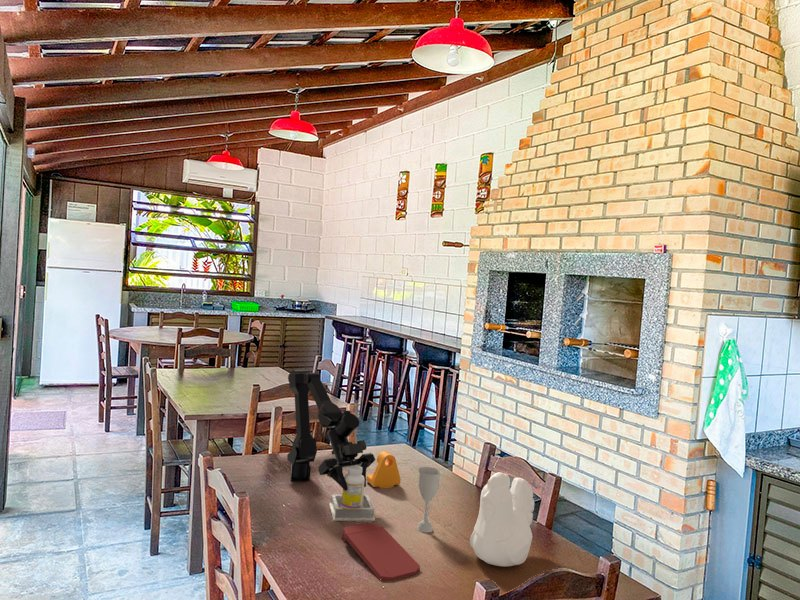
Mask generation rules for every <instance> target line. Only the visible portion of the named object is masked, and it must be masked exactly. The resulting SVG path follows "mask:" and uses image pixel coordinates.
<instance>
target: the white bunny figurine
mask: <svg viewBox="0 0 800 600" xmlns="http://www.w3.org/2000/svg"><path fill="white" fill-rule="evenodd" d="M533 497H534V493H533V488H532V487H531V486H530V485H529V482H528V481H527V480H526V479H524V478H522V477H514V478H513V479H512V482H511V478H510V476H509V474H507V473H503V472H501V471H499V472H496V473H494V474H492V476H490V478H489V479H488V480H487V482H486V484H485V485H484V486H483V487H482V490H481V492H480V499H479V500H480V501H479V511H478V516H477V520H476V521H475V525H474V528H473V532H472V533H471V536H470V537H469V545H470V547H471V548H472V549H473V551H474V553H475V555H476V557H477V558H478V559H480V560H482V561H483V562H485V563H486V564H488V565H493V566H497V567H512V566H517V565H518V566H519V565H521V564H523V563H525V561H526V559H528V555H529V553H530V549H531V544H532V541H533V533H532V532H533V531H532V529H531V527H530V526H531V525H532V522H533V517H534V513H533V512H534V510H535V500H534V498H533Z"/></svg>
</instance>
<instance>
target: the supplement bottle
mask: <svg viewBox="0 0 800 600" xmlns="http://www.w3.org/2000/svg"><path fill="white" fill-rule="evenodd" d="M362 469H363V468H362V467H360V466H356V465H353V466H347V474H345V475H344V478H345V481H346V484H347V488H348V490H347V491H345V490H344V489H343V488H342V493H341V495H342V507H343V508H362V504H363V495H364V490H365V487H364V482H365V478H364V476H363V475H361V474H362Z"/></svg>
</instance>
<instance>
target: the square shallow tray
mask: <svg viewBox="0 0 800 600" xmlns="http://www.w3.org/2000/svg"><path fill="white" fill-rule="evenodd" d="M328 506H329V510H331V511H330V514H332V515H331V519H332V518H333V519H332V522H333V521H356V522H376V518H375V508H374V505H373V503H372V501H371V499H370V495H369V494H363V504H362V508H343V507H342V494H336V493H335V494H331V499H330V502H329V503H328Z"/></svg>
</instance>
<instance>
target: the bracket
mask: <svg viewBox="0 0 800 600" xmlns="http://www.w3.org/2000/svg"><path fill="white" fill-rule="evenodd" d="M376 462H377V465H376V467H375V470H374V472H373V473H372V474H371V473H370V474H366V483H369V484H370V485H371V486H372V487H374V488H375V487H377V488H379V489H386V488H387V487H388V488H394V486H396V485H397V486H398V485H401V481H402V480H401V476H400V471H399V467H398V464H397V460H396V458H395V456H394V455H393V454H391V453H389V451H386V450H383V451H380V452H379V453H378V454H377V458H376Z"/></svg>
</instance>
